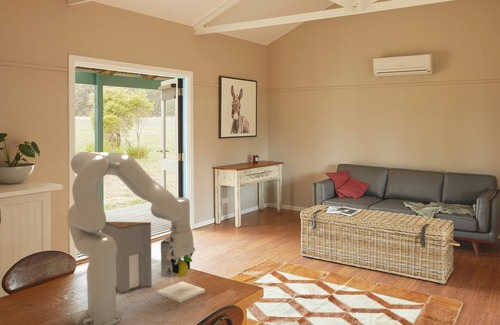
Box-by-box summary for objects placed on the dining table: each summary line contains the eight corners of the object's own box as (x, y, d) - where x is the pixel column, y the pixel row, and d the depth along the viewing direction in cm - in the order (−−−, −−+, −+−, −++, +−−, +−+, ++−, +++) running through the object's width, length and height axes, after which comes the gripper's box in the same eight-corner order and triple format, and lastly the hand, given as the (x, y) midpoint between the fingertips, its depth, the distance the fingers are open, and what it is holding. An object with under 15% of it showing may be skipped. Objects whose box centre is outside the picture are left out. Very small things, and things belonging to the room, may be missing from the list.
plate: (180, 302, 170) (180, 299, 170) (157, 293, 179) (156, 290, 179) (205, 291, 181) (205, 289, 181) (182, 283, 190) (182, 281, 190)
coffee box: (168, 269, 208) (168, 236, 207) (181, 270, 207) (180, 237, 205) (160, 275, 199) (160, 241, 198) (174, 277, 198) (173, 242, 197)
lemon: (192, 276, 180) (192, 253, 179) (183, 281, 175) (183, 257, 174) (180, 273, 184) (179, 251, 183) (171, 278, 179) (170, 255, 178)
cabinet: (151, 285, 187) (150, 222, 185) (145, 294, 178) (144, 227, 175) (103, 284, 188) (102, 221, 185) (95, 293, 178) (93, 227, 176)
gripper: (170, 233, 168) (171, 278, 170) (202, 225, 182) (202, 267, 184) (158, 230, 173) (159, 274, 175) (189, 222, 186) (190, 263, 188)
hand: (181, 270), depth 179 cm, fingers closed on lemon, 5 cm apart
